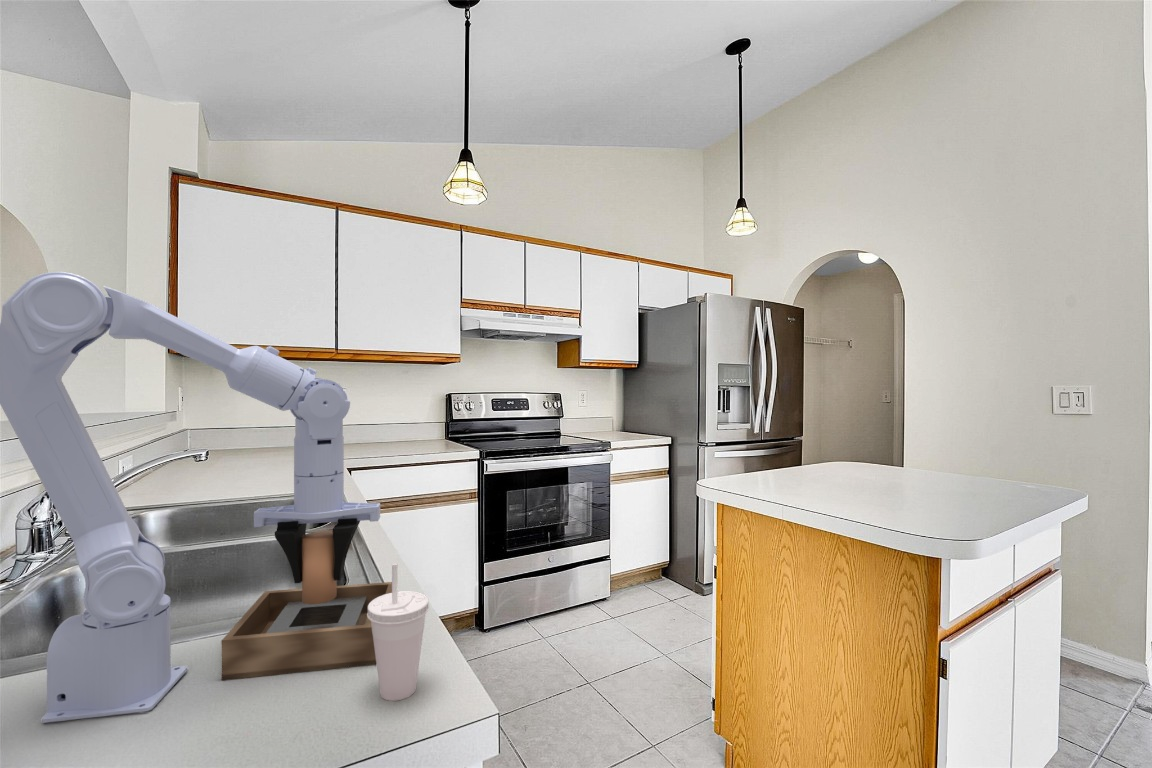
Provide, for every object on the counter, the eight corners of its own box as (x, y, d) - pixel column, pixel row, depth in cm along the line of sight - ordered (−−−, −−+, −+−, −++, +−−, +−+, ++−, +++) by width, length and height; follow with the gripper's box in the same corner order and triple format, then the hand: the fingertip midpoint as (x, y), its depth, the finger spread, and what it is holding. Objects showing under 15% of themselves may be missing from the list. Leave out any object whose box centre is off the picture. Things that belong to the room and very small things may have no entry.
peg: (298, 605, 66) (298, 541, 66) (306, 592, 70) (306, 532, 70) (333, 602, 67) (333, 538, 67) (339, 590, 71) (339, 530, 71)
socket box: (221, 680, 60) (221, 640, 60) (265, 623, 74) (265, 591, 74) (381, 663, 64) (381, 626, 64) (394, 612, 77) (395, 581, 77)
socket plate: (262, 662, 63) (262, 637, 63) (288, 623, 73) (288, 602, 73) (353, 653, 65) (353, 629, 65) (366, 616, 75) (367, 596, 75)
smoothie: (353, 697, 57) (353, 566, 57) (399, 668, 63) (399, 549, 63) (397, 715, 54) (397, 577, 54) (441, 683, 60) (441, 558, 60)
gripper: (383, 465, 74) (383, 564, 74) (267, 469, 71) (267, 571, 71) (375, 475, 67) (375, 583, 67) (247, 479, 64) (247, 593, 64)
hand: (319, 578), depth 69 cm, fingers closed on peg, 4 cm apart
